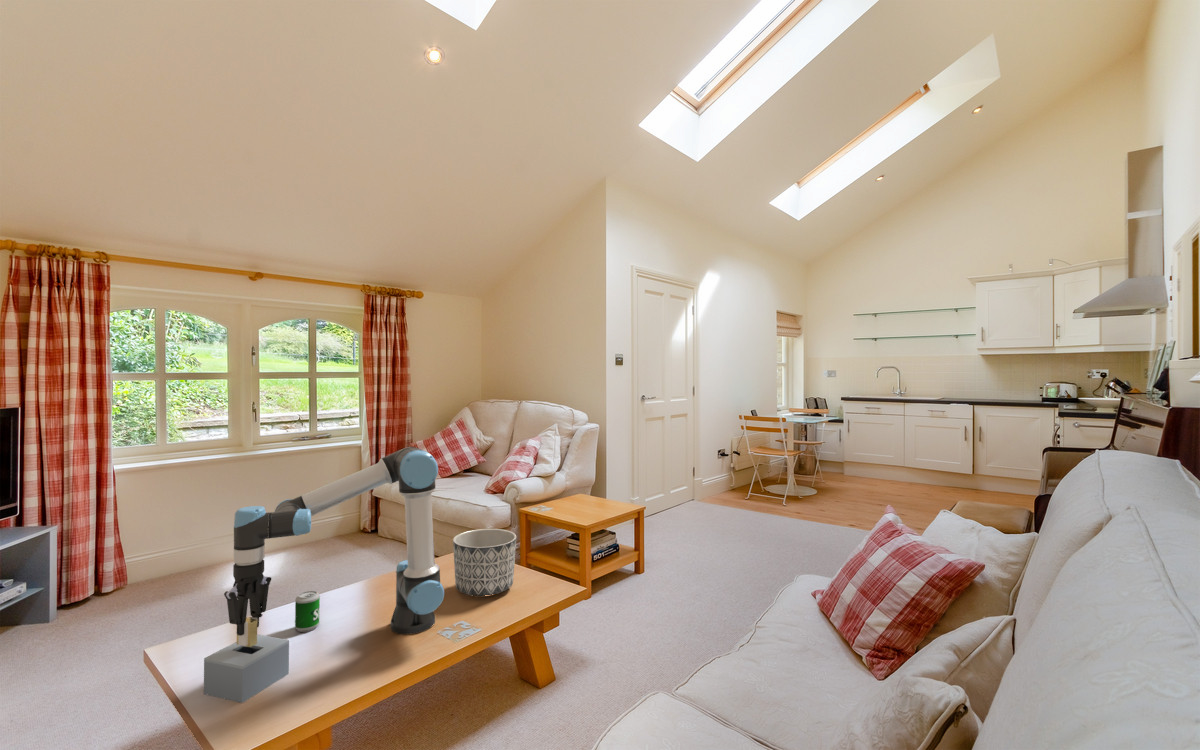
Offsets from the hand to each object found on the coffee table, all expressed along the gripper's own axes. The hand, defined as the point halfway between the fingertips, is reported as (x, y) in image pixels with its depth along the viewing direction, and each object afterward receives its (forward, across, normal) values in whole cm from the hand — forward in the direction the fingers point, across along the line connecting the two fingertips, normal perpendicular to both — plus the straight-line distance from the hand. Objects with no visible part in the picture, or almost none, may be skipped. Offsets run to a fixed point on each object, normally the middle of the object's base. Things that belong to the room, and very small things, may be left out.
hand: (247, 642), depth 153 cm
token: (0, 0, 0) cm, 1 cm away
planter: (+12, -81, +32) cm, 88 cm away
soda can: (+12, -32, -11) cm, 36 cm away
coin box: (+12, 0, 0) cm, 12 cm away
